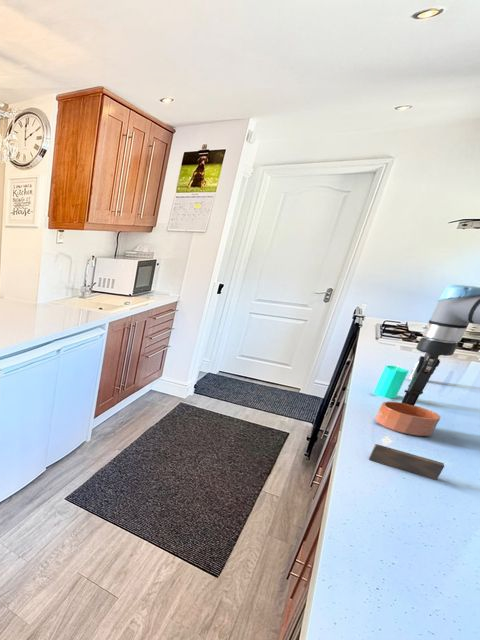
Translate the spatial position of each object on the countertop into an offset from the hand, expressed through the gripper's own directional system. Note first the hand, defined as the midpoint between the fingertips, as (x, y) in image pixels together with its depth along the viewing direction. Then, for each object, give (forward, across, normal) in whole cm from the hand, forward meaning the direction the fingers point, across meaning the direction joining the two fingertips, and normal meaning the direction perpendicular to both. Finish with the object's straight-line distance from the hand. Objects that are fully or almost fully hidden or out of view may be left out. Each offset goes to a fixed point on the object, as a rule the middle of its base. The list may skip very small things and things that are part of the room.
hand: (403, 412), depth 126 cm
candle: (+3, -27, -4) cm, 27 cm away
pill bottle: (+3, -63, +5) cm, 63 cm away
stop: (+3, +40, 0) cm, 40 cm away
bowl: (+3, +7, 0) cm, 8 cm away
